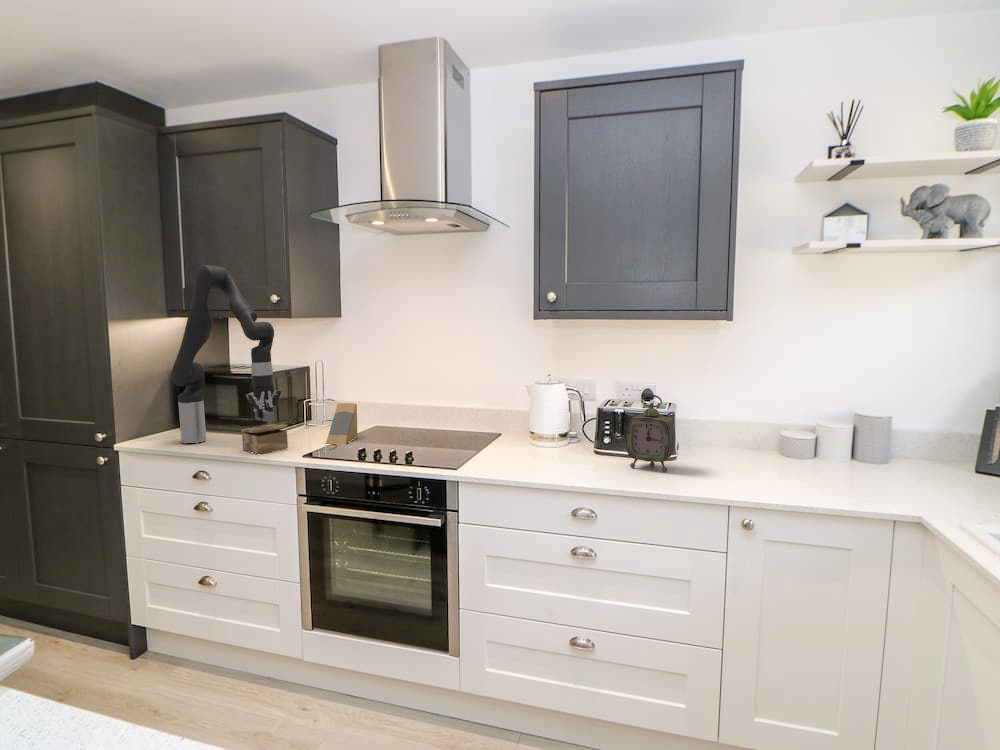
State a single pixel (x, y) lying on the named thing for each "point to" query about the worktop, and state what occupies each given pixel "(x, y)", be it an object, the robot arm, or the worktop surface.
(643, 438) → the tabletop clock
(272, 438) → the carton
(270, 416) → the gray rectangular block
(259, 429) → the lid
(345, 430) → the sandwich container
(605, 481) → the worktop surface
